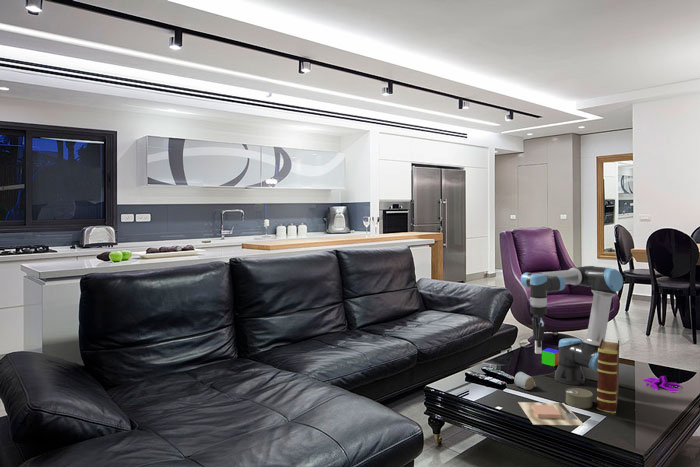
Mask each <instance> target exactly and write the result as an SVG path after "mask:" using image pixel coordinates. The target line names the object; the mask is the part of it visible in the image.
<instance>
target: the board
mask: <svg viewBox="0 0 700 467" xmlns="http://www.w3.org/2000/svg"><path fill="white" fill-rule="evenodd" d="M517 403H518V404H519V407H520V408H521V410H523V412H524V413H525V415H526V416H527V418H528V419H529V420H530V422H531V423H532V425H537V426H538V425H540V426H543V425H544V426H545V425H546V426H547V425H548V426H580V427H581V426H585V424H584V423H583V422H582V420H580V418H579V417H578V416H576V414H575V413H574V412H573V411H572V410H571V409H570V408H569V407H568V405H566V404H565V403H564V402H561V403H562V404H563V405H564V406H565V407H566V408H567V410H568V411H569V412H570V413H573V414H574V415H575V416H576V417H577V419H569V418H568V417H567V416H566V415H565V414H564V413H566V412H565V411H564V410H563V409H562V407H561V406H560V405H559V403H560V402H534V401H533V402H530V401H529V402H525V401H523V402H522V401H518V402H517ZM531 405H553V406H554V407H555V408H556V409H557V411H558V412H559V413H560V414H561V418H560V419H558V418H538V417H537V415H536V414H535V413H534V411H533V410H532V409H531Z"/></svg>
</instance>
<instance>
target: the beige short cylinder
mask: <svg viewBox="0 0 700 467" xmlns="http://www.w3.org/2000/svg"><path fill="white" fill-rule="evenodd" d="M564 392H565V403H566V404H567V406H571V407H572V408H577V409H590V408H593V396H594V393H593V392H592V391H590V390H588V389H586V388H580V387H567V388H566V389H565V391H564Z"/></svg>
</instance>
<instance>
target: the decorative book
mask: <svg viewBox="0 0 700 467" xmlns="http://www.w3.org/2000/svg"><path fill="white" fill-rule="evenodd" d="M619 371H620V340H619V339H618V341H617V342H614V341H613V342H611V341H606V340H605V341H603V339H602V340H601V343H600V346H599V348H598V370H597V371H596V372H597V388H596V392H597V394H596V396H597V397H596V400H597V401H596V402H597V403H596V405H597V406H596V409H597V410H599V411H603V412H604V413H605V412H606V413H611V414H612V413H616V414H617V408H618V407H617V406H618V400H619V380H620V378H619V376H620V373H619Z"/></svg>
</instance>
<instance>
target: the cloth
mask: <svg viewBox="0 0 700 467" xmlns="http://www.w3.org/2000/svg"><path fill="white" fill-rule="evenodd" d="M642 381H643V382H645V386H646V387H647V386H651V387H650V388H651V389H653V388H654V389H657V390H656V391H659V390H658V389H659V388H660V387H661V388H660V389H663V388H664V389H663V390H666V389H667V390H669V391H680V390H679V389H677V387H682V386H681V385H680V384H679V383H677V382H669V381H668V380H667V376H666V375H662V376H660V377H659V378H656V377H647V378H644V379H642ZM649 382H650V383H649ZM649 384H650V385H649ZM672 386H677V387H672ZM654 389H653V390H654ZM667 390H666V391H667ZM669 391H668V392H669Z"/></svg>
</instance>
